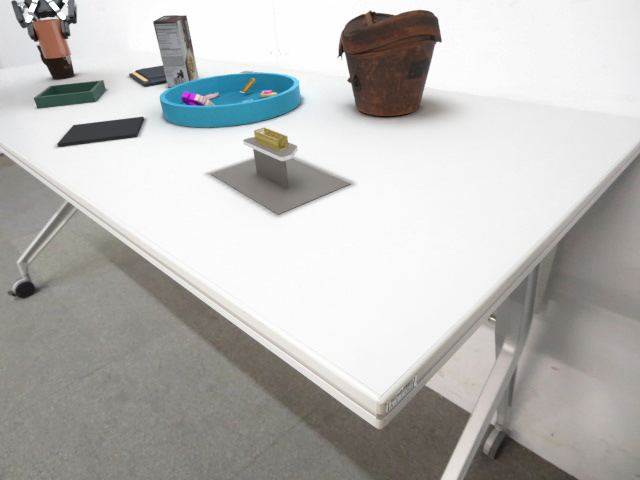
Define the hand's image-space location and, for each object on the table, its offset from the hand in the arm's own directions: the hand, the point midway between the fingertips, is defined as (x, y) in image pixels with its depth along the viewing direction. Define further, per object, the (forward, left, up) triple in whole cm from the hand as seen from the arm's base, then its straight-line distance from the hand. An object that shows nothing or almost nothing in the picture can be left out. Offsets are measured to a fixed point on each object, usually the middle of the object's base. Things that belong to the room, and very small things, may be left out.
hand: (50, 37), depth 106 cm
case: (+70, -41, -15) cm, 83 cm away
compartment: (0, +2, -15) cm, 15 cm away
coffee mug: (-12, +35, -15) cm, 40 cm away
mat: (+14, -33, -15) cm, 39 cm away
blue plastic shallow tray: (+40, -25, -15) cm, 50 cm away
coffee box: (+28, +5, -15) cm, 32 cm away
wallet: (+21, +18, -15) cm, 31 cm away
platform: (+44, -68, -15) cm, 83 cm away
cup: (0, +2, -4) cm, 5 cm away
